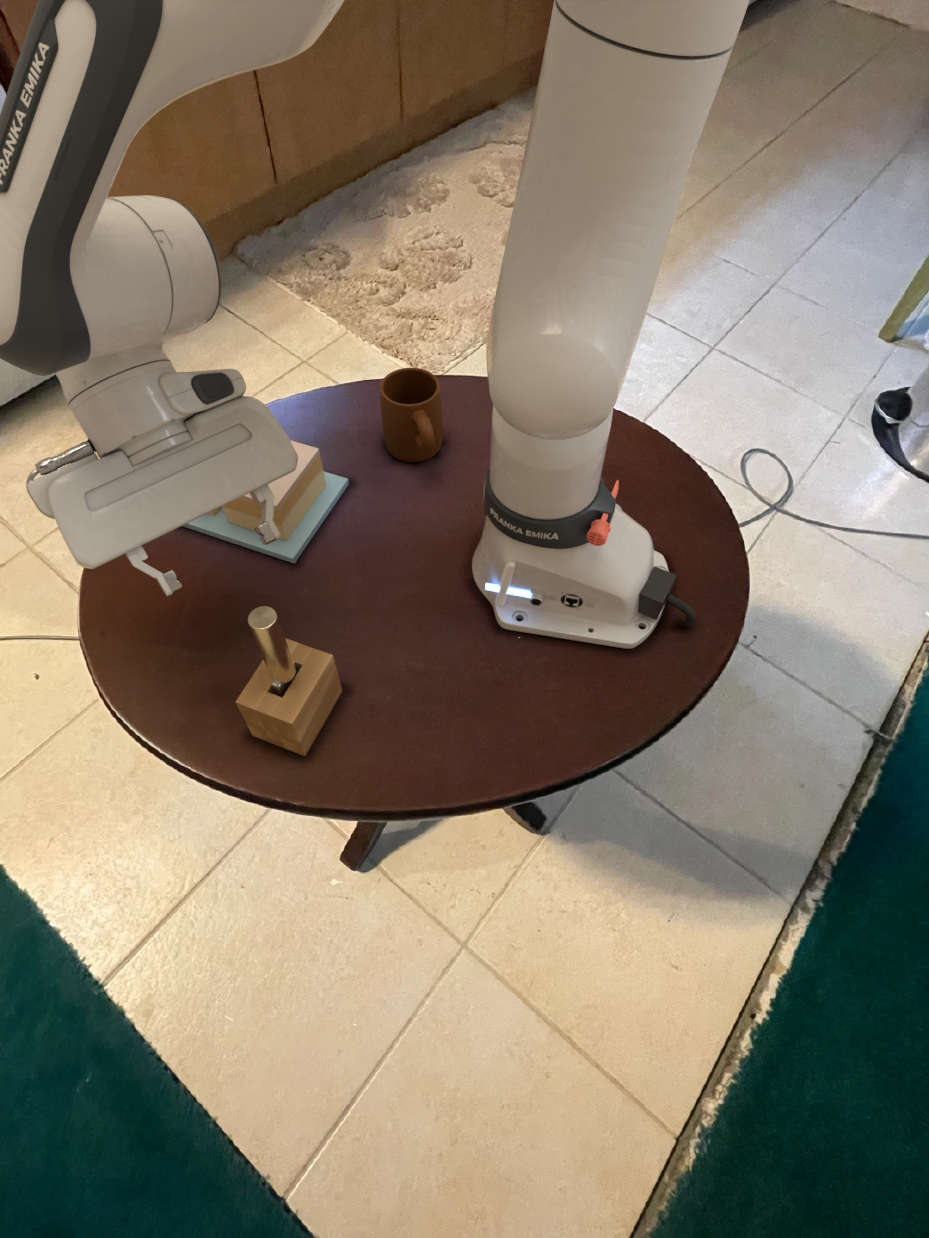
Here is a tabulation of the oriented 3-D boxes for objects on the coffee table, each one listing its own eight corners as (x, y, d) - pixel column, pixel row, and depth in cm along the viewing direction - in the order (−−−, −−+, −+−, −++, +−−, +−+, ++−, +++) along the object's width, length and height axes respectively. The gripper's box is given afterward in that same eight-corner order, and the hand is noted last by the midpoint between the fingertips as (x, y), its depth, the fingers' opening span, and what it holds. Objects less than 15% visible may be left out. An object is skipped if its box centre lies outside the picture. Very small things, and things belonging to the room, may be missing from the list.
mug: (460, 480, 97) (460, 422, 89) (402, 494, 95) (397, 436, 88) (433, 420, 103) (430, 361, 96) (378, 432, 102) (371, 373, 94)
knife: (315, 704, 78) (283, 608, 64) (301, 729, 77) (265, 635, 63) (295, 697, 79) (259, 599, 65) (280, 721, 77) (240, 626, 63)
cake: (349, 484, 96) (342, 442, 91) (294, 564, 89) (282, 523, 83) (230, 448, 100) (216, 405, 94) (168, 521, 93) (148, 480, 87)
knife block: (342, 690, 79) (333, 655, 74) (305, 756, 75) (292, 724, 69) (291, 672, 81) (278, 635, 75) (252, 735, 76) (235, 702, 71)
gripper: (9, 466, 57) (111, 627, 60) (255, 362, 64) (333, 512, 67) (18, 476, 62) (110, 622, 66) (243, 379, 69) (315, 516, 73)
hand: (225, 566), depth 67 cm, fingers open, 8 cm apart
